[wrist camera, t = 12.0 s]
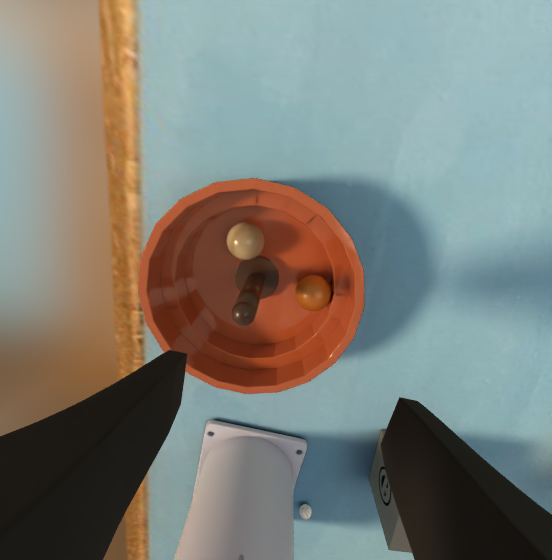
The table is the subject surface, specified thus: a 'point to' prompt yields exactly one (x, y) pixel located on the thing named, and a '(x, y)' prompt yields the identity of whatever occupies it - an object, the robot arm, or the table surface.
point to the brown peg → (253, 287)
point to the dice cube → (387, 504)
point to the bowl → (223, 292)
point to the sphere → (305, 511)
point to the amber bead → (313, 293)
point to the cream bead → (245, 240)
